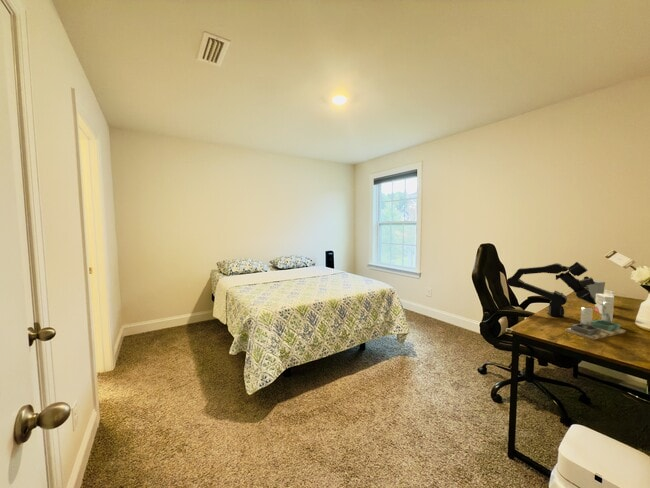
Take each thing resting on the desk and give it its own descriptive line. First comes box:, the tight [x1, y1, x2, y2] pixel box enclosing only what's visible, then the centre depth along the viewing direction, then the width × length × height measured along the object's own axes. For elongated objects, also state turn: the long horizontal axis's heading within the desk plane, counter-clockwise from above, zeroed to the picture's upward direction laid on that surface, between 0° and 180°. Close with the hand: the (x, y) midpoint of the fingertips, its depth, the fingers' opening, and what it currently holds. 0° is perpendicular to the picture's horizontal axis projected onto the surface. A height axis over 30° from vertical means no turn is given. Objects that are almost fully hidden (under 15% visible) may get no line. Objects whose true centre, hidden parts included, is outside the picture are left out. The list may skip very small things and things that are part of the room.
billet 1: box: [579, 306, 594, 330], centre depth 146 cm, size 4×4×12 cm
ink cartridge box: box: [594, 288, 615, 315], centre depth 177 cm, size 9×5×15 cm, turn 168°
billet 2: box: [600, 301, 615, 323], centre depth 159 cm, size 4×4×12 cm
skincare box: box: [582, 279, 606, 304], centre depth 200 cm, size 8×7×16 cm
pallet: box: [564, 318, 626, 341], centre depth 149 cm, size 27×12×4 cm, turn 108°
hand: (594, 302), depth 162 cm, fingers open, 9 cm apart
